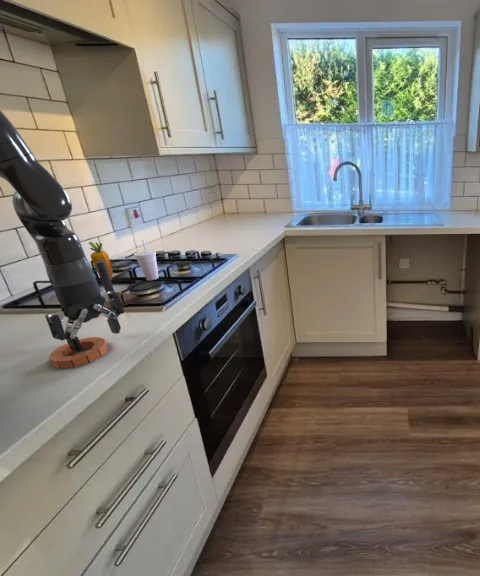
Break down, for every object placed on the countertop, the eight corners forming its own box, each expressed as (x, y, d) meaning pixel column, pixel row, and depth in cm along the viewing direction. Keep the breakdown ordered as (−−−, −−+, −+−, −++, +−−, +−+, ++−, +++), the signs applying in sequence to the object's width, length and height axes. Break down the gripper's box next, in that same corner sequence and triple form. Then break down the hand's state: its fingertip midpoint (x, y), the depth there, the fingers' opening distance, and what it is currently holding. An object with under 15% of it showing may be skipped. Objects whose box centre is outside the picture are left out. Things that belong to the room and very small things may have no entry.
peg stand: (109, 312, 104) (93, 268, 98) (89, 308, 107) (72, 265, 101) (139, 299, 111) (125, 258, 106) (119, 296, 114) (105, 255, 109)
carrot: (120, 281, 126) (106, 240, 120) (105, 286, 122) (90, 244, 116) (112, 279, 128) (98, 238, 122) (97, 284, 124) (81, 242, 118)
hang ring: (71, 372, 77) (67, 364, 76) (42, 363, 81) (39, 356, 80) (117, 348, 86) (114, 341, 85) (89, 341, 89) (87, 334, 88)
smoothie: (166, 277, 129) (155, 239, 123) (147, 283, 124) (135, 244, 118) (157, 274, 132) (146, 237, 127) (138, 279, 127) (126, 241, 122)
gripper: (46, 293, 72) (76, 360, 79) (116, 269, 84) (137, 329, 91) (24, 289, 75) (54, 354, 81) (95, 266, 87) (117, 325, 94)
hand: (98, 341), depth 86 cm, fingers open, 8 cm apart
